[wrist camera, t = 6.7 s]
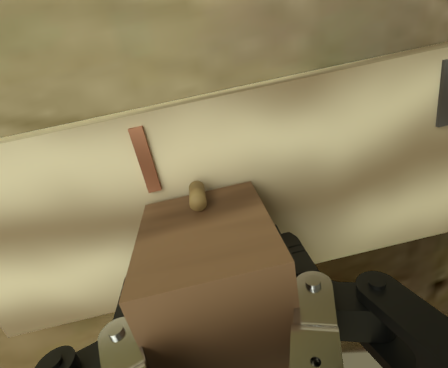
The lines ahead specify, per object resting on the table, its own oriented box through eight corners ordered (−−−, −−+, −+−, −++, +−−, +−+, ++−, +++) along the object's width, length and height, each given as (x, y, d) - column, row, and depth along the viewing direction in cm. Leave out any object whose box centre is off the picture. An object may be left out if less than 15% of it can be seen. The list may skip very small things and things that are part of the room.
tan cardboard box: (144, 179, 14) (109, 282, 8) (243, 157, 15) (292, 239, 8) (183, 298, 18) (182, 443, 11) (264, 278, 18) (311, 410, 11)
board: (-73, 153, 14) (-117, 169, 12) (492, 31, 15) (541, 27, 13) (26, 308, 18) (5, 340, 16) (464, 205, 19) (498, 222, 17)
